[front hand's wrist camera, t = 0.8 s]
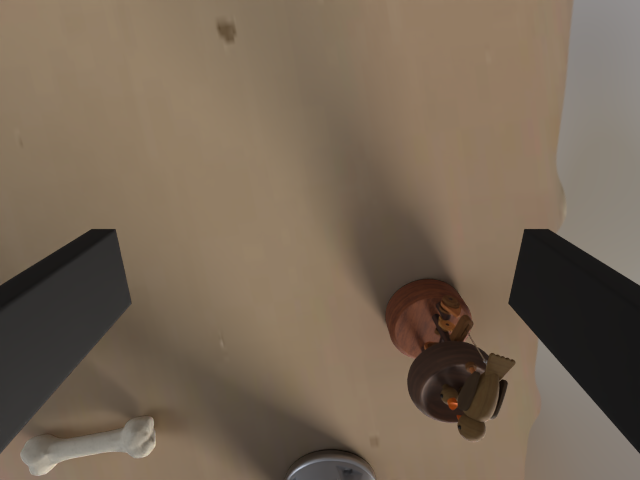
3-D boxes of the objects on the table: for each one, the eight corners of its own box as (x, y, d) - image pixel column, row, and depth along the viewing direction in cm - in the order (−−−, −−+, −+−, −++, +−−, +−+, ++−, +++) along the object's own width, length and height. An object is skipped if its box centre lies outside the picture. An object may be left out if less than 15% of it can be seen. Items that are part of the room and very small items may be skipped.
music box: (386, 266, 48) (449, 376, 30) (468, 265, 49) (579, 371, 31) (375, 363, 54) (423, 506, 35) (449, 360, 55) (534, 498, 36)
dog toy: (50, 456, 61) (27, 486, 56) (31, 429, 59) (6, 458, 54) (167, 434, 59) (154, 463, 54) (151, 405, 57) (136, 433, 52)
